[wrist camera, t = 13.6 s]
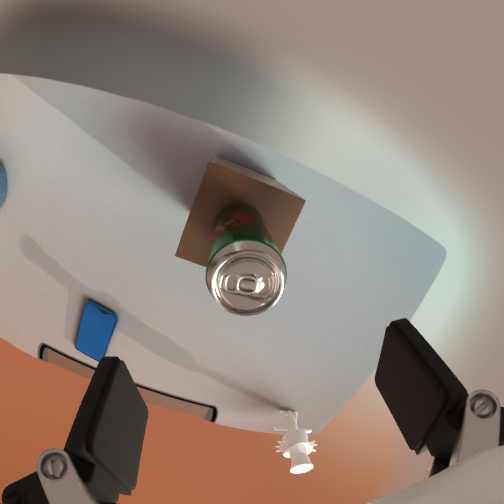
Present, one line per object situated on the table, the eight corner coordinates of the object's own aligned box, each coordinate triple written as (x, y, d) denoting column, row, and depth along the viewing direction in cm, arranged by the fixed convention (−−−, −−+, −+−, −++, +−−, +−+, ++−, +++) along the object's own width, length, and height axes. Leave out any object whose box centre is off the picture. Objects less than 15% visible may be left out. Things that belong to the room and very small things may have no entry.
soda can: (259, 256, 29) (279, 325, 18) (209, 249, 29) (200, 315, 17) (269, 208, 28) (299, 252, 16) (217, 199, 27) (211, 238, 16)
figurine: (263, 416, 64) (272, 475, 47) (276, 398, 62) (289, 460, 45) (298, 421, 66) (312, 475, 50) (313, 404, 64) (331, 461, 47)
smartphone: (74, 348, 52) (85, 299, 48) (75, 345, 53) (87, 297, 49) (102, 363, 54) (118, 318, 49) (103, 360, 55) (120, 315, 50)
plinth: (193, 215, 45) (175, 256, 29) (216, 156, 42) (209, 161, 26) (251, 236, 47) (265, 287, 31) (276, 179, 44) (306, 200, 28)
